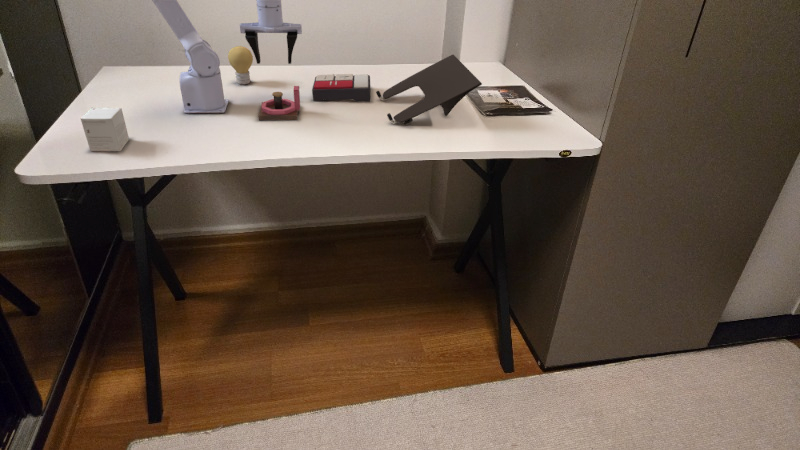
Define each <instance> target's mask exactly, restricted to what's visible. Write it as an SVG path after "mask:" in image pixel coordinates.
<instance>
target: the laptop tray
mask: <svg viewBox="0 0 800 450" xmlns="http://www.w3.org/2000/svg"><path fill="white" fill-rule="evenodd" d="M482 85H483V82H481V81H480V80H479V79H478V78H477V76H476V75H475V74H473V72H472V71H470V70H469V69H468V67H466V66H465V64H464V63H462V62H461V60H460V59H459V58H457V56H455V55H454V54H451V55H449V56H446V57H445V58H443V59H441V60H439V61H436V62H435V63H433V64H430V65H429V66H427V67H425V68H424V69H421V70H420V71H417V72H416V73H414V74H412V75H410V76H409V77H406V78H405V79H402V80H401V81H399V82H398V83H396V84H394V85H393V86H391V87H389V88H386V89H385V91H383V93H382V94H381V92H380V91H379V90H376V91H375V93H376V95H377V97H378V99H379V100H380V101H386V100H389V99H390V98H393V97H394V96H397V95H399V94H401V93H404V92H406V91H408V90H410V89H412V88H415V87H418V88H419V89H420V90H421V92H422V93H423V95H424V97H422V99H420V100H418V101H416V102H415V103H413V104H411V105H410V106H408V107H407V108H405V109H403V110H401V111H400V112H398V113H396V114H395V115H394V116H392V114H391V113H390V112H389V113H386V116H387V119H388V120H389V122H390V123H391V124H392V125H397V124H398V123H399V124H401V123H403V124H404V125H409V124H411V122H413V118H416V117H418V116H421V115H422V114H425V113H426V112H428V111H431V110H433V109H435V108H438V107H439V106H440V107H441V108H442V111H443V116H445V117H447V116H448V115H450V113H451V112H452V110H453V109H454V108H455V107H456V106H457V105H458V103H460V101H462V100H463V98H464V97H466V96H467V95H469V93H470V92H473V91H474V90H475V89H478V88H479V87H481V86H482Z"/></svg>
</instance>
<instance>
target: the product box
mask: <svg viewBox="0 0 800 450" xmlns="http://www.w3.org/2000/svg"><path fill="white" fill-rule="evenodd" d="M80 121H81V125H82V129H83V131H84V135H85V138H86V141H87V145H88V148H89V150H90V151H91V152H121V151H122V150H123V148H124V147H125V146H126V144H127V143H128V141H129V140H130V136H129V133H128V128H127V124H126V120H125V117H124V113H123V109H122V108H121V107H91V108H90V109H89V110H87V111H86V113H85V114H83V115H82V116H81V117H80Z"/></svg>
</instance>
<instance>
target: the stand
mask: <svg viewBox="0 0 800 450" xmlns="http://www.w3.org/2000/svg"><path fill="white" fill-rule="evenodd" d="M271 95H272V96H273V99H274V104H273V105H270V106H267V107H268V108H270V109H286V108H288V107H291V106H289V105H287V104H283V103H282V99H283V95H284V93H283V92H281V91H274V92H272V93H271ZM263 102H264V101H261V103H260V108H259V112H258V121H298V115H299V110H295V111H293V112H291V113H288V114H285V115H270V114H268V113H265V112H263V111H262V109H261V107H262V103H263Z"/></svg>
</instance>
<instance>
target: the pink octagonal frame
mask: <svg viewBox="0 0 800 450" xmlns="http://www.w3.org/2000/svg"><path fill="white" fill-rule="evenodd" d="M300 96H301V95H300V86H299V85H294V86H293V100H291V99H288V98H282V103H283V104H287V105H289V106H291V107H288V108H286V109H270V108H268V107H267V106H270V105H273V104H274V98H272V99H267V100H266V101H262V102H263V103H262V102H261V103H262V107H261V106H260V107H261V109H262V111H263V112H265V113H268V114H270V115H285V114H288V113H291V112H293V111H295V110H298V111H301V100H300V99H301V97H300Z"/></svg>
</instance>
